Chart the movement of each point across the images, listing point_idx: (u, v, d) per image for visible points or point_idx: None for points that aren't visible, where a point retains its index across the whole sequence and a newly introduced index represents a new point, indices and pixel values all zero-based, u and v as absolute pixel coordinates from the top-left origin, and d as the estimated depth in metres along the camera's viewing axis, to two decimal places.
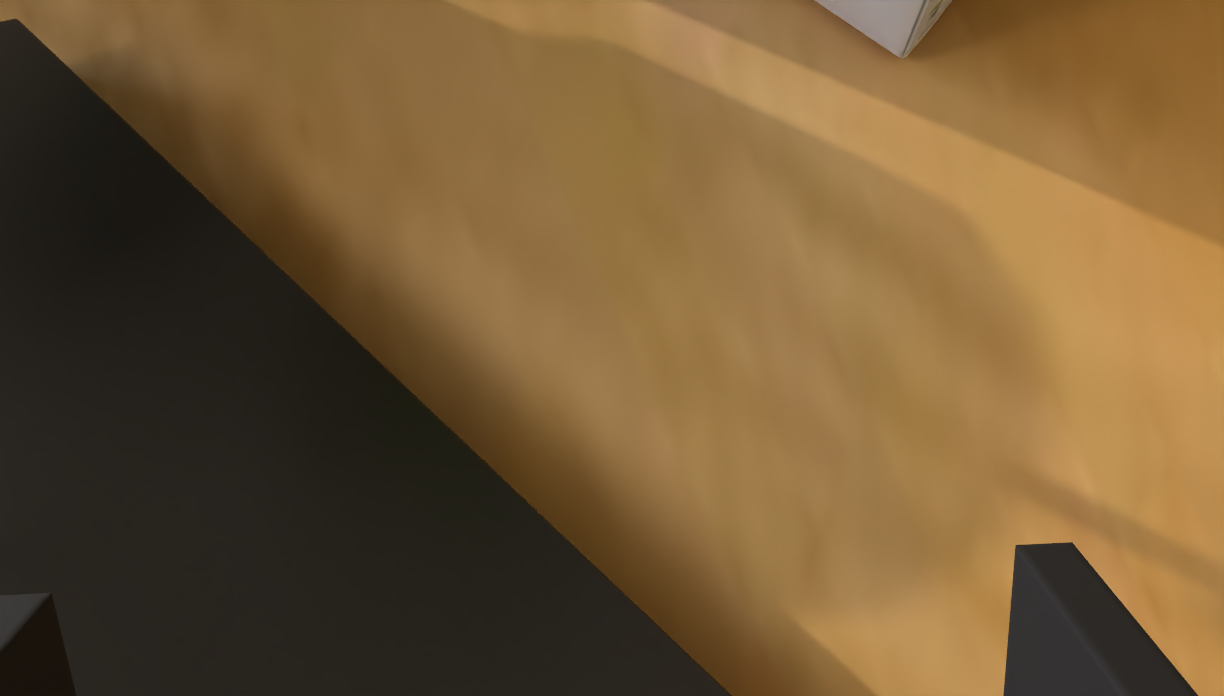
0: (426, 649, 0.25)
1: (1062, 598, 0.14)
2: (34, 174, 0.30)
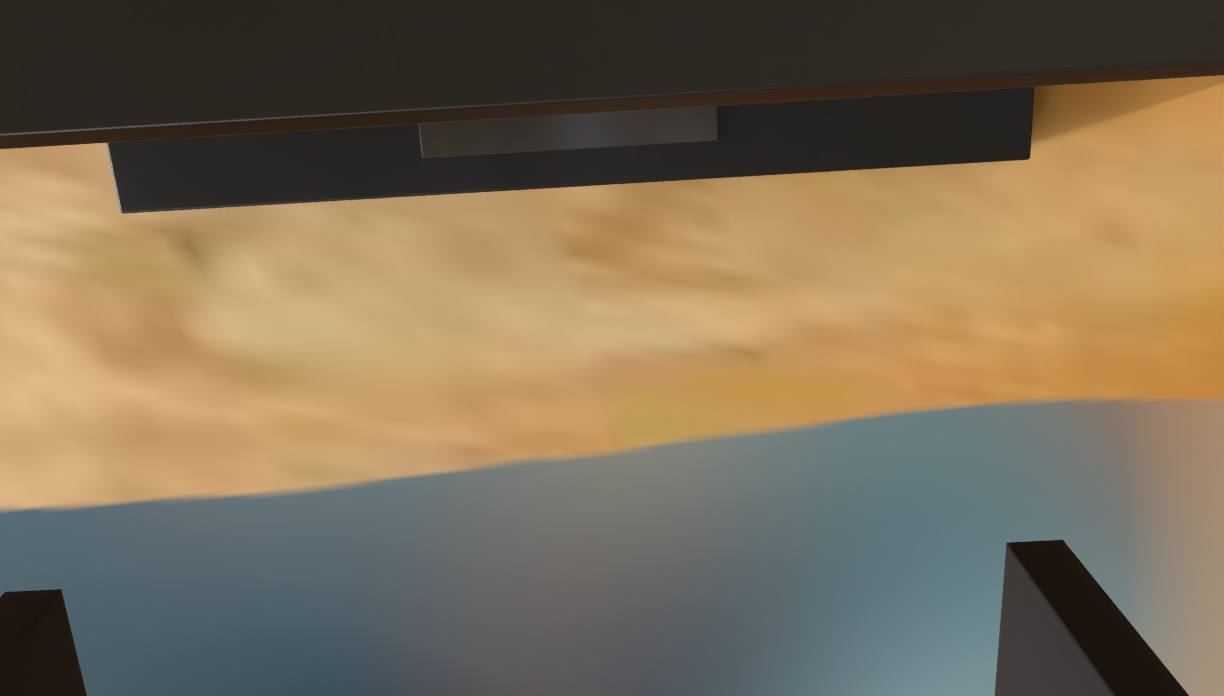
0: None
1: (1051, 595, 0.14)
2: None
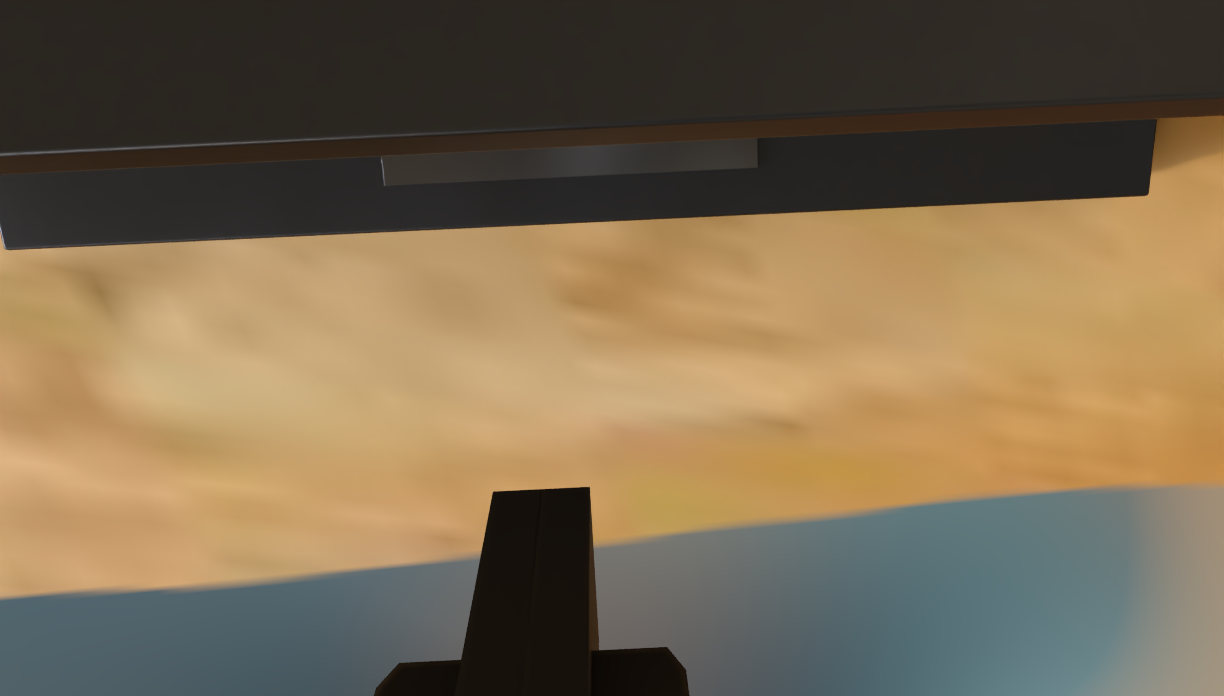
0: None
1: (543, 530, 0.16)
2: None
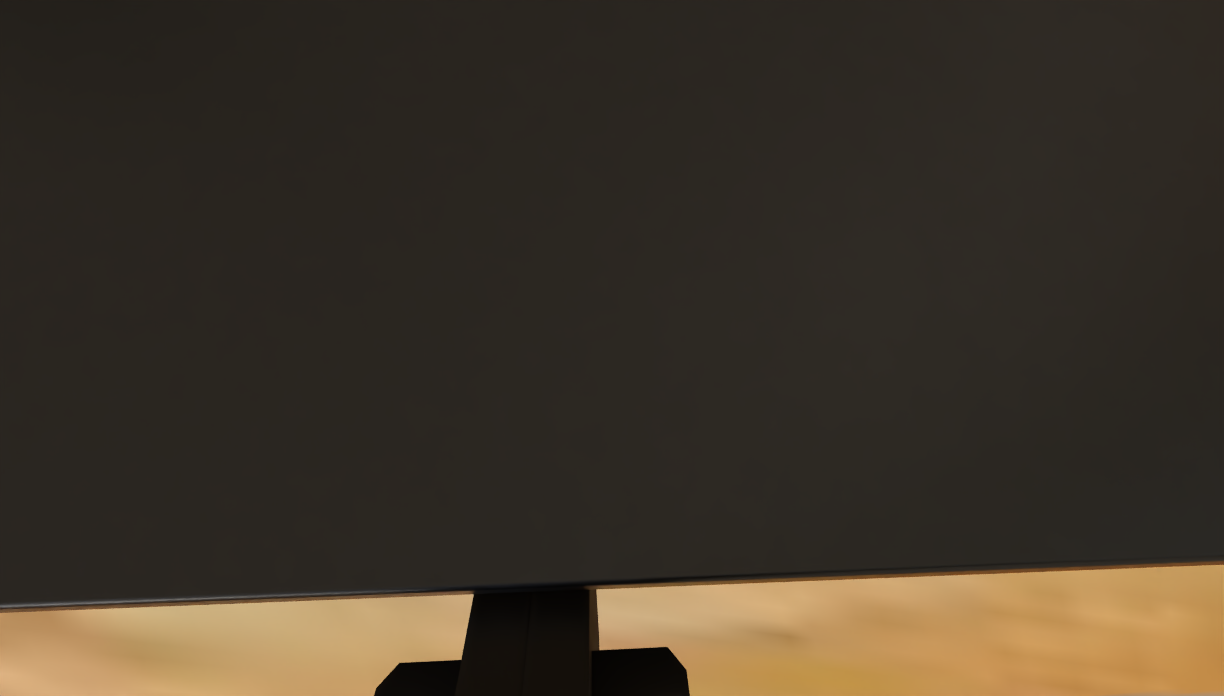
0: None
1: None
2: None
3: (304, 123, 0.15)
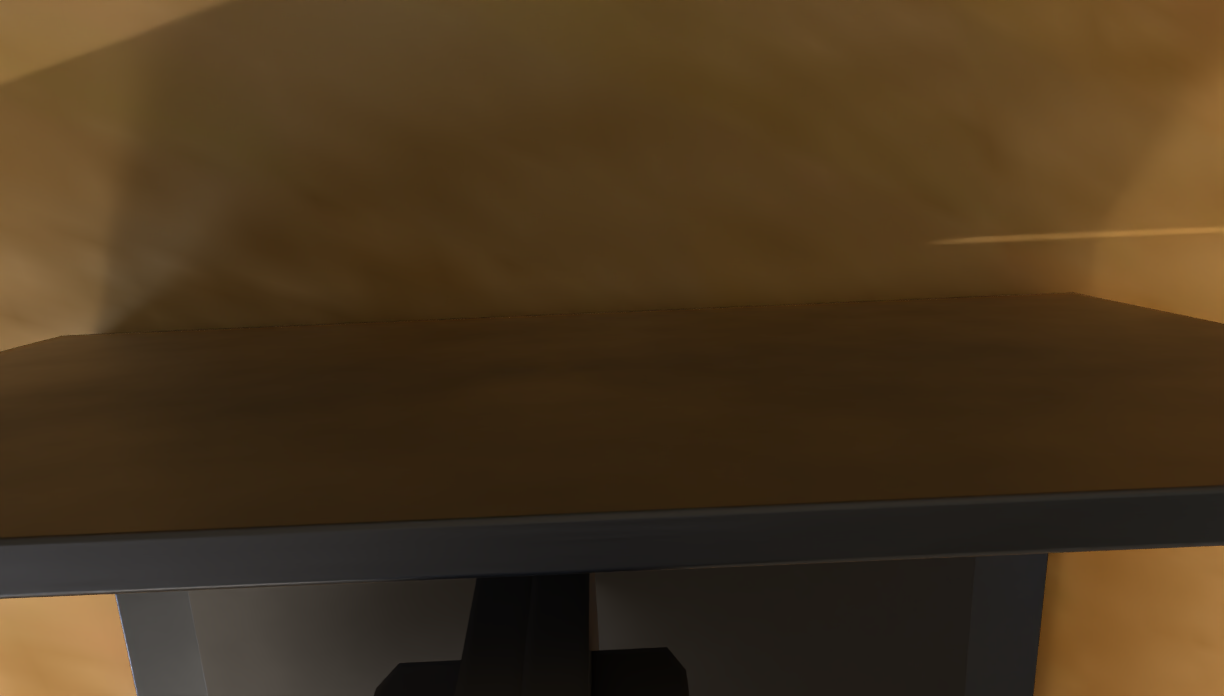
0: (862, 322, 0.28)
1: None
2: (224, 342, 0.30)
3: (370, 415, 0.18)
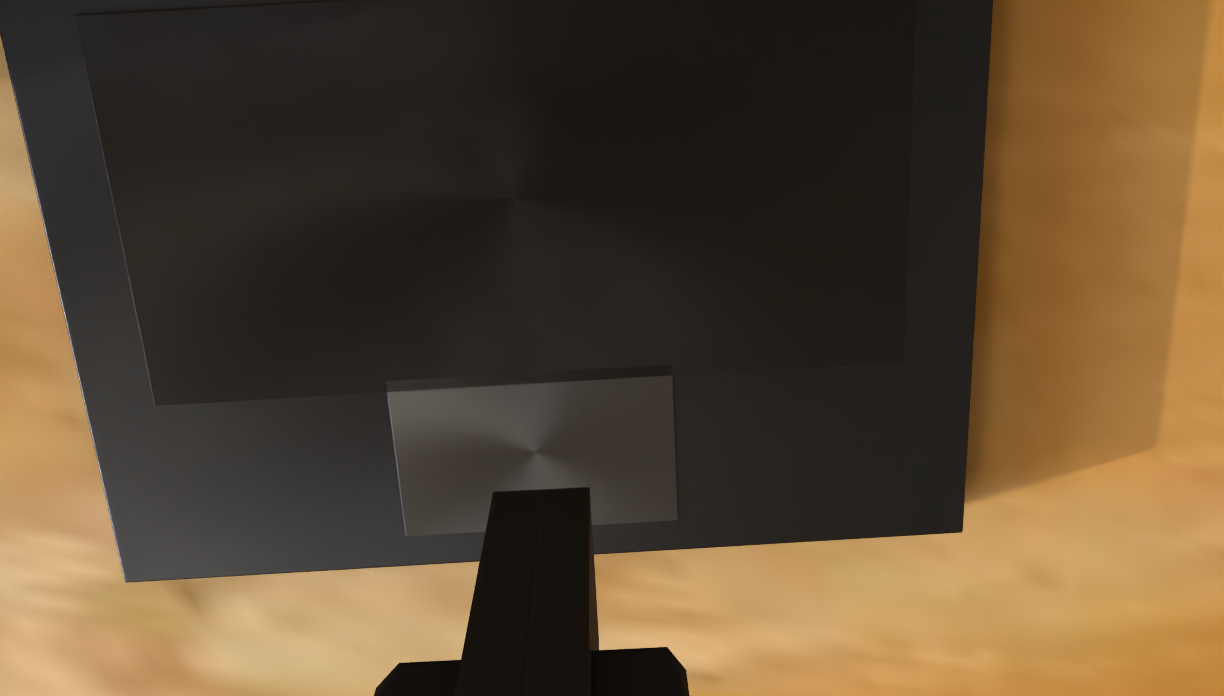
0: None
1: (543, 531, 0.16)
2: None
3: None
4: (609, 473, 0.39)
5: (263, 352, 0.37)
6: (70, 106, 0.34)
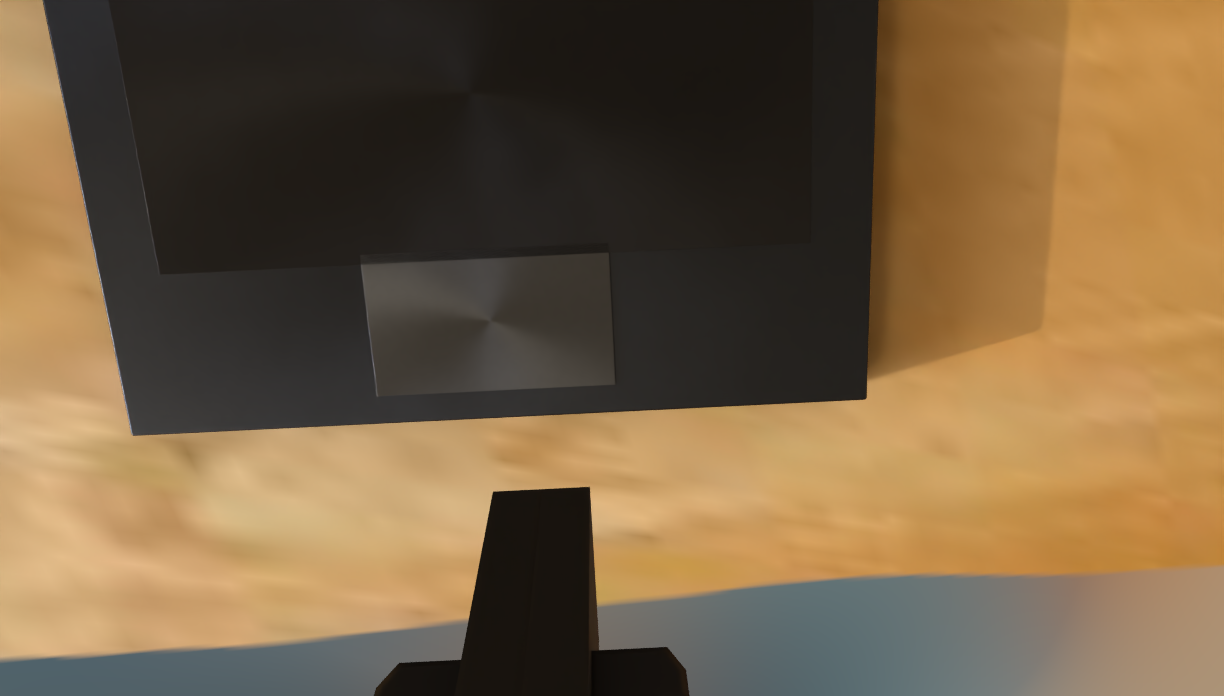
0: None
1: (542, 530, 0.16)
2: None
3: None
4: (554, 341, 0.44)
5: (253, 227, 0.43)
6: (89, 7, 0.40)
